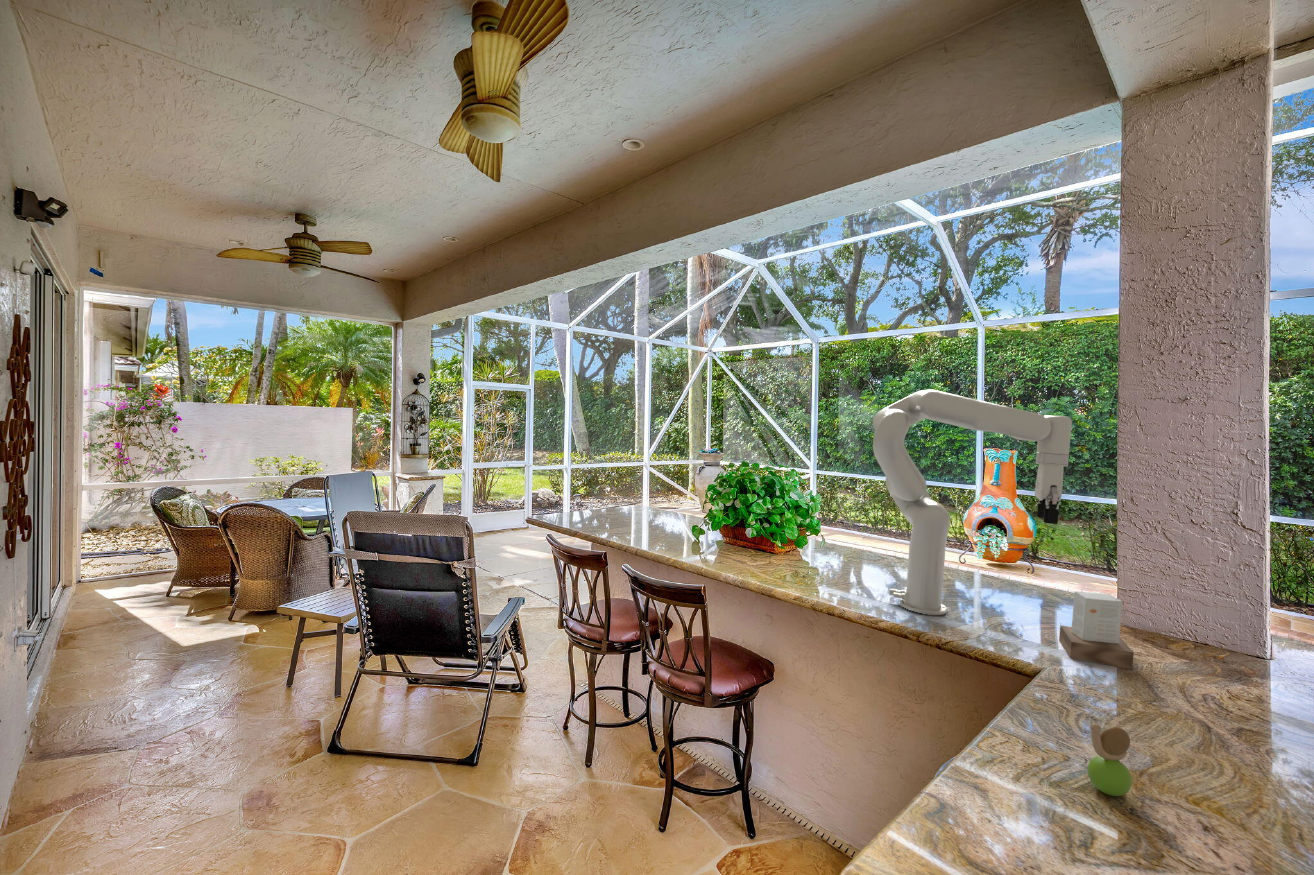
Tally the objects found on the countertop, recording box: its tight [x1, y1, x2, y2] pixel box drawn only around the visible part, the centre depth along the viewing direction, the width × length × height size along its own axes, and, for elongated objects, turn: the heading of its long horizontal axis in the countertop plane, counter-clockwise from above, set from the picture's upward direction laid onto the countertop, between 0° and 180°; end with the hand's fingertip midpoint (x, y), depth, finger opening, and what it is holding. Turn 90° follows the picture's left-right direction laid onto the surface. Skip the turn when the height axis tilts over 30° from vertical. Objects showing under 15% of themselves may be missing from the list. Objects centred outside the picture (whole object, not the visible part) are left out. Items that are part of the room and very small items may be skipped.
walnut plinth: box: [1058, 624, 1135, 670], centre depth 144 cm, size 12×12×4 cm
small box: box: [1071, 591, 1124, 644], centre depth 143 cm, size 8×6×10 cm
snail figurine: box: [1086, 714, 1133, 797], centre depth 90 cm, size 5×6×12 cm
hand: (1046, 520), depth 165 cm, fingers open, 9 cm apart
